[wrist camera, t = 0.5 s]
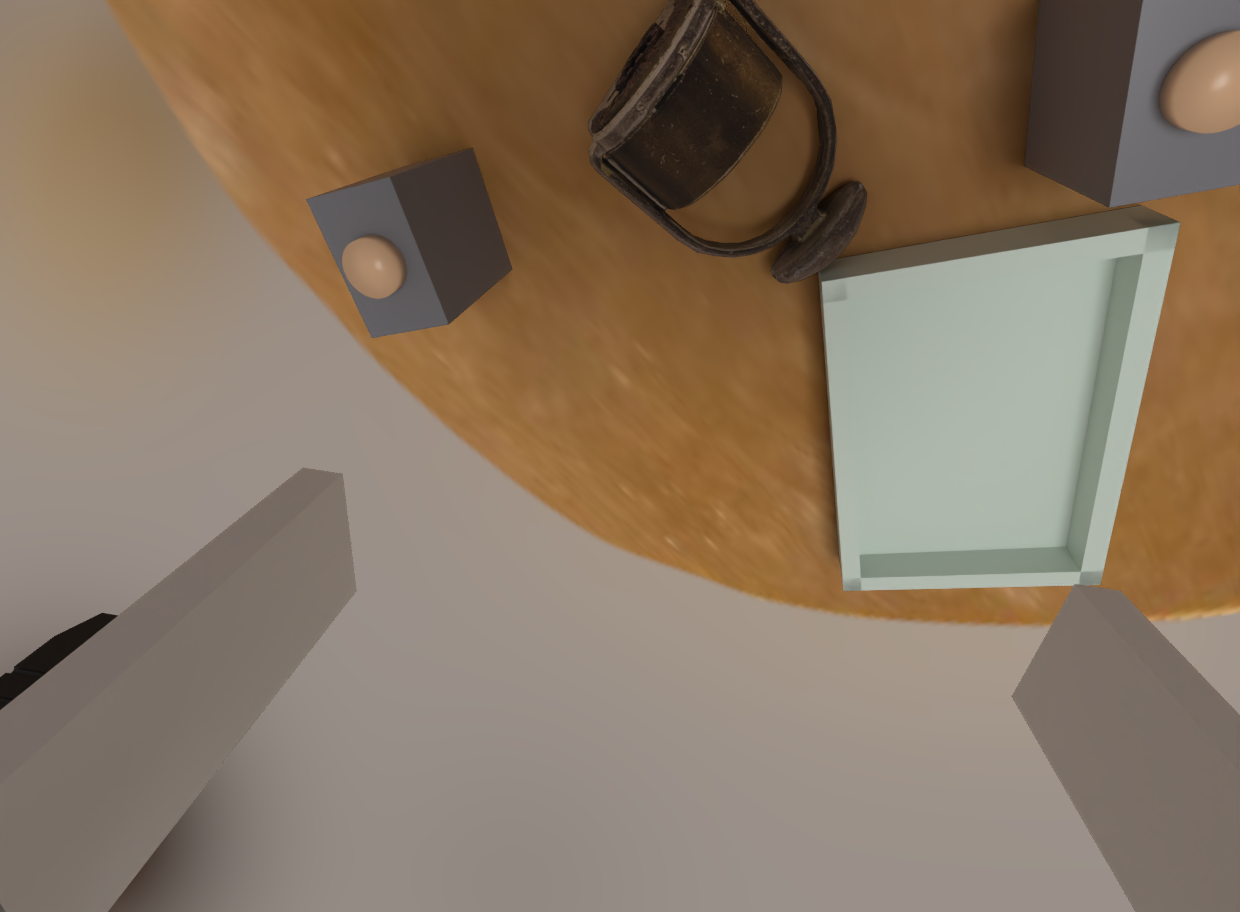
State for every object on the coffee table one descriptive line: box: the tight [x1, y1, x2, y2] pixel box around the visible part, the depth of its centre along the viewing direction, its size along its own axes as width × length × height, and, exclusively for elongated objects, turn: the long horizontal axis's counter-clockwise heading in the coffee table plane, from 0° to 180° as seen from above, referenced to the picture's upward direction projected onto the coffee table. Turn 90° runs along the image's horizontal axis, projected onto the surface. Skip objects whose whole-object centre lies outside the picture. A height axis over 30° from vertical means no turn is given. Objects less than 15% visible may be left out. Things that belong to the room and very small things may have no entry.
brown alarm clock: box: [588, 0, 867, 284], centre depth 25 cm, size 7×13×10 cm
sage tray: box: [818, 205, 1180, 591], centre depth 31 cm, size 13×19×3 cm
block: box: [1024, 0, 1240, 208], centre depth 20 cm, size 4×6×9 cm, turn 14°
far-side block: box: [306, 148, 512, 338], centre depth 28 cm, size 4×6×9 cm, turn 14°
